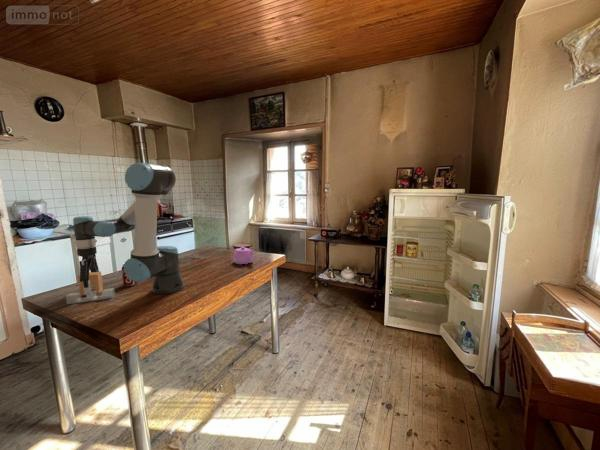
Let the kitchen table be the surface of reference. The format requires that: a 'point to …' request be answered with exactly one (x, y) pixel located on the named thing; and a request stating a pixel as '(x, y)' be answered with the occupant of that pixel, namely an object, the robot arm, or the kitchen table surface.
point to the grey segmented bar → (90, 296)
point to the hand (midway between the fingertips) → (91, 289)
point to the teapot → (243, 256)
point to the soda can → (127, 279)
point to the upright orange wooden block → (93, 282)
